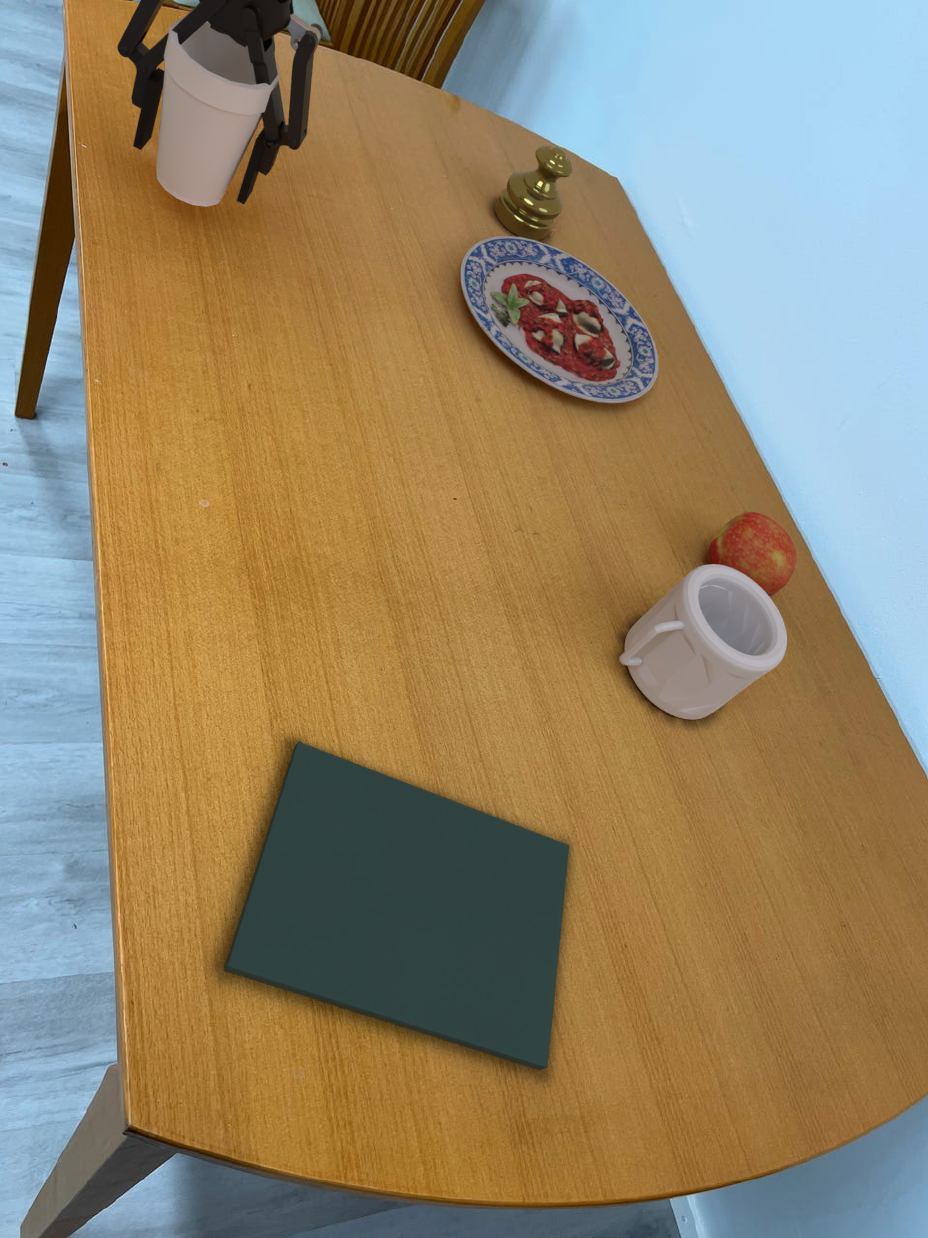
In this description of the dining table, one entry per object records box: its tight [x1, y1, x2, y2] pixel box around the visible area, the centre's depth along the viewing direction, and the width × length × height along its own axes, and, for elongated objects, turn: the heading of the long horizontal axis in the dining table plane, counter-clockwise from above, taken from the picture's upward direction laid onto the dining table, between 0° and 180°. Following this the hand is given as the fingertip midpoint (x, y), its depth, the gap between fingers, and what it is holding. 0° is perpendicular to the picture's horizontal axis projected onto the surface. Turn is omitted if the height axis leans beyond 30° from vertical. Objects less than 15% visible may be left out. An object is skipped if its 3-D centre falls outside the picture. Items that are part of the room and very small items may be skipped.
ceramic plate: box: [459, 235, 660, 404], centre depth 111 cm, size 26×26×3 cm
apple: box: [707, 511, 797, 597], centre depth 99 cm, size 8×8×8 cm
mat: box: [223, 741, 570, 1071], centre depth 66 cm, size 22×16×1 cm
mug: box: [618, 564, 788, 720], centre depth 86 cm, size 14×11×10 cm
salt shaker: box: [494, 145, 574, 241], centre depth 118 cm, size 7×7×10 cm
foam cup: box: [155, 17, 281, 208], centre depth 87 cm, size 10×9×13 cm
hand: (194, 168), depth 91 cm, fingers closed on foam cup, 9 cm apart
